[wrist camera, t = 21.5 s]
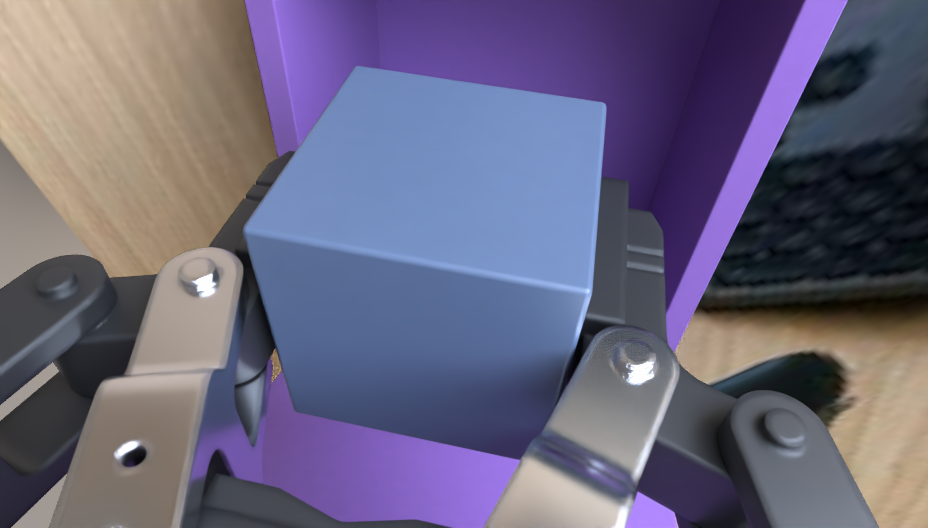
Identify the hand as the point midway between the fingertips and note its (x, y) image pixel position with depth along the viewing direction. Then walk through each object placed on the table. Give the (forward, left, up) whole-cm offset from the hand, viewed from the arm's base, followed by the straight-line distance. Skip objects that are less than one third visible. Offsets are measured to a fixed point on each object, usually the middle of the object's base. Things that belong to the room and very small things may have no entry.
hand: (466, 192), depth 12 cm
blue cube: (0, 0, 0) cm, 0 cm away
